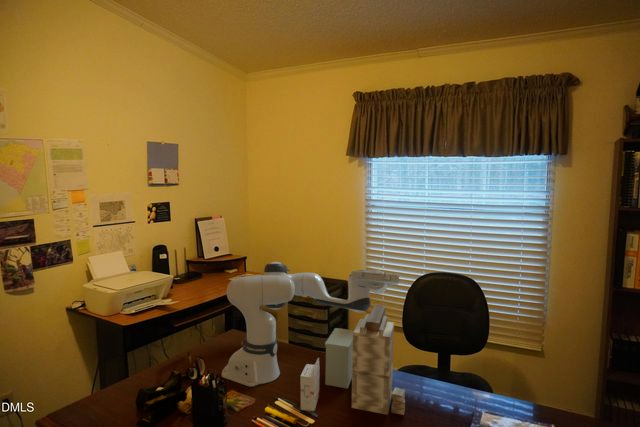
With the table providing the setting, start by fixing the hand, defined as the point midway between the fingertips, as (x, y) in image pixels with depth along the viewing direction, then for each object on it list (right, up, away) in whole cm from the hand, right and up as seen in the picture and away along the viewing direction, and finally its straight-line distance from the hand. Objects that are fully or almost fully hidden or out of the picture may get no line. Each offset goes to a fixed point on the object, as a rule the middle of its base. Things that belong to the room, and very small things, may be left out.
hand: (373, 274), depth 147 cm
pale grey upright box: (-14, -39, -7) cm, 41 cm away
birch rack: (-3, -40, -22) cm, 46 cm away
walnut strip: (-2, -14, -18) cm, 23 cm away
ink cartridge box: (-25, -40, -24) cm, 53 cm away
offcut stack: (+4, -40, -27) cm, 49 cm away
